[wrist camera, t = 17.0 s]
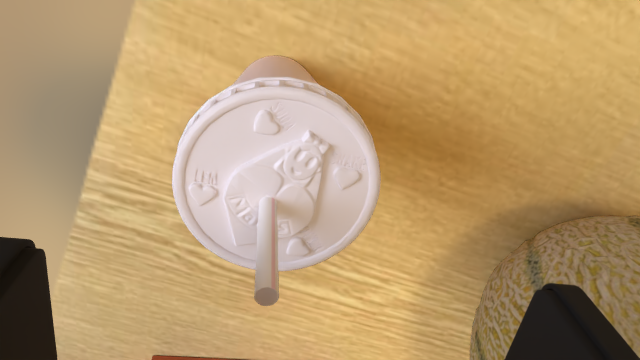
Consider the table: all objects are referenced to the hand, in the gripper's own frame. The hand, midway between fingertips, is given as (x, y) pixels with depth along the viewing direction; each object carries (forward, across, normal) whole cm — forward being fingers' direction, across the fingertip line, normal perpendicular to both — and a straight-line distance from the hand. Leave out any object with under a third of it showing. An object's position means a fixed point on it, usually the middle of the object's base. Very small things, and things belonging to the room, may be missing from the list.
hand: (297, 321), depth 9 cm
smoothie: (+16, 0, 0) cm, 16 cm away
